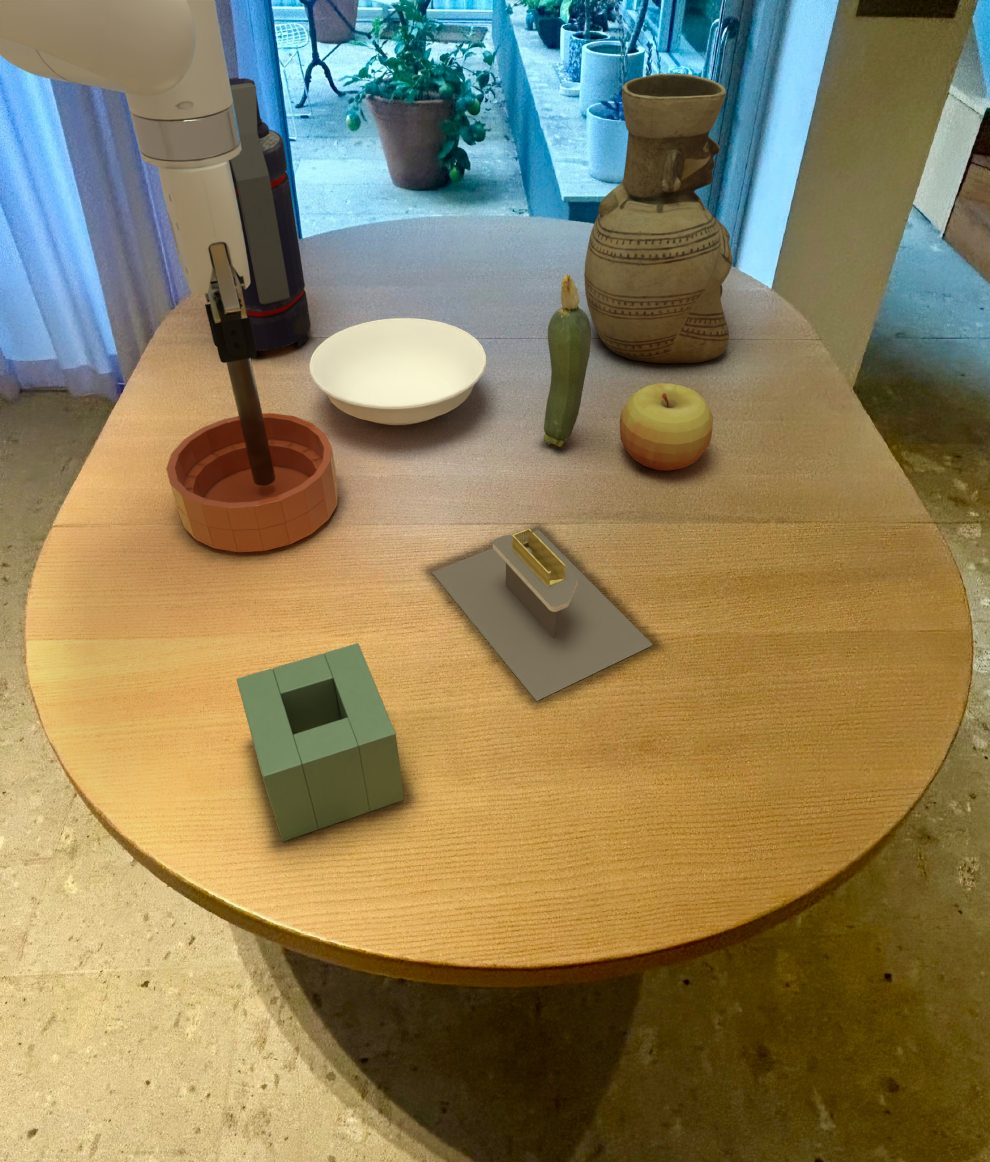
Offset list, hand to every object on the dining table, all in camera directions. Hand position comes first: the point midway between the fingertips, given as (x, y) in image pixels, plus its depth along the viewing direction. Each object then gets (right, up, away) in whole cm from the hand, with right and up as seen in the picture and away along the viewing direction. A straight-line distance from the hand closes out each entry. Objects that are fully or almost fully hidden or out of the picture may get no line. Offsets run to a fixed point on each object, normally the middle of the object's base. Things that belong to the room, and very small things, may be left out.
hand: (235, 349), depth 80 cm
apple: (+42, -7, +17) cm, 45 cm away
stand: (+11, -35, -13) cm, 39 cm away
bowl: (+13, -1, +24) cm, 27 cm away
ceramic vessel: (+44, +10, +35) cm, 57 cm away
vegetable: (+31, -6, +18) cm, 36 cm away
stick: (0, -11, +10) cm, 15 cm away
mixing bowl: (0, -13, +10) cm, 17 cm away
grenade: (-6, +10, +35) cm, 37 cm away
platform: (+27, -23, 0) cm, 36 cm away
